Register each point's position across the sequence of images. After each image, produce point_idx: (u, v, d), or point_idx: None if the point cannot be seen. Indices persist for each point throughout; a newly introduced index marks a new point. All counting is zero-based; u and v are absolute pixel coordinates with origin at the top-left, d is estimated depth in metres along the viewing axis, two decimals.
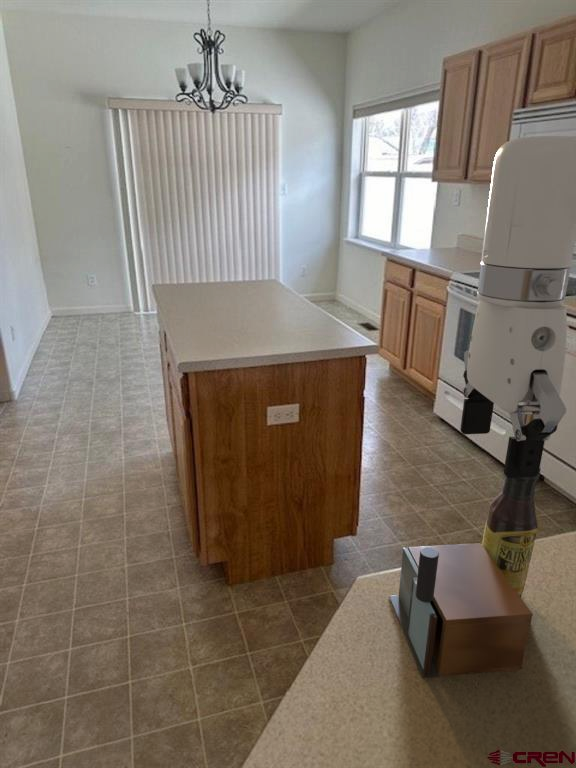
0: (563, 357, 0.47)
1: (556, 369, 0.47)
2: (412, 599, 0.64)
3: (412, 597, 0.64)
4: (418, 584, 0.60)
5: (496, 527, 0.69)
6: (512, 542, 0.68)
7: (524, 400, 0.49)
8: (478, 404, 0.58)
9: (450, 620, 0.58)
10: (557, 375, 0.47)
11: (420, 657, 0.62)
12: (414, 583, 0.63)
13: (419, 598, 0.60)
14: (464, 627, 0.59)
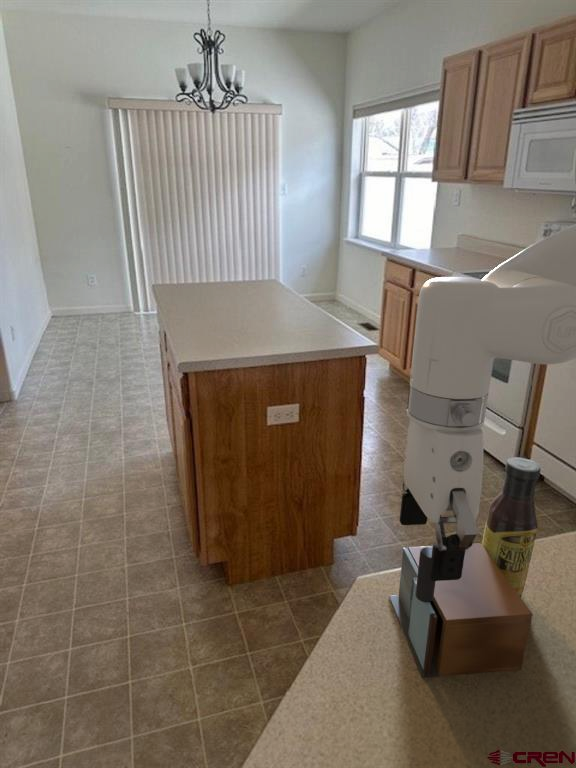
0: (480, 476, 0.51)
1: (474, 487, 0.51)
2: (412, 599, 0.64)
3: (412, 597, 0.64)
4: (418, 584, 0.60)
5: (496, 527, 0.69)
6: (512, 542, 0.68)
7: (448, 509, 0.54)
8: (415, 499, 0.62)
9: (450, 620, 0.58)
10: (475, 492, 0.51)
11: (420, 657, 0.62)
12: (414, 583, 0.63)
13: (419, 598, 0.60)
14: (464, 627, 0.59)
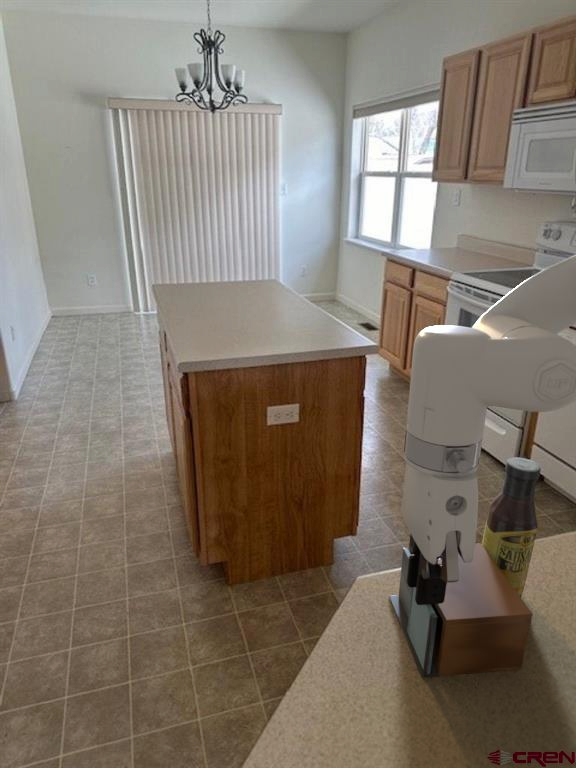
0: (475, 519, 0.52)
1: (469, 530, 0.52)
2: (412, 599, 0.64)
3: (412, 597, 0.64)
4: None
5: (496, 527, 0.69)
6: (512, 542, 0.68)
7: None
8: None
9: (450, 620, 0.58)
10: (470, 534, 0.53)
11: (420, 657, 0.62)
12: None
13: None
14: (464, 627, 0.59)
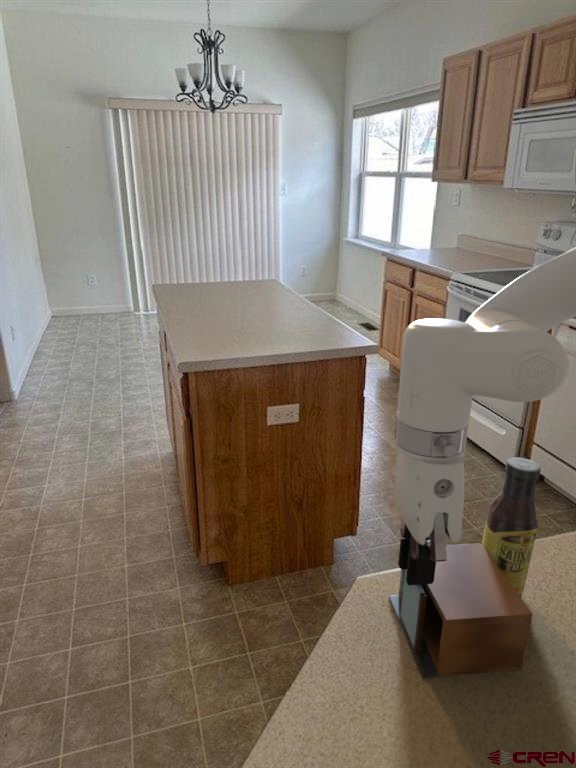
0: (462, 502, 0.55)
1: (456, 512, 0.55)
2: (404, 581, 0.67)
3: (403, 579, 0.67)
4: None
5: (496, 527, 0.69)
6: (512, 542, 0.68)
7: None
8: None
9: (450, 620, 0.58)
10: (457, 516, 0.56)
11: (411, 636, 0.65)
12: None
13: None
14: (464, 627, 0.59)
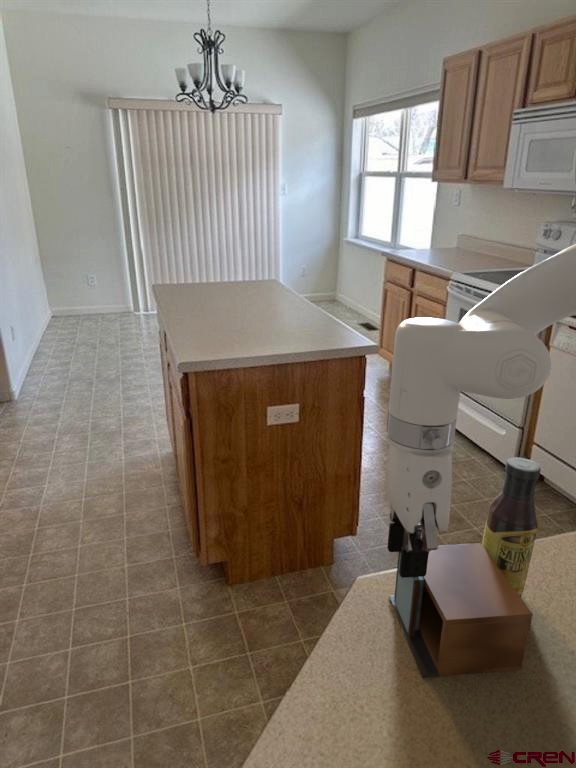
0: (449, 492, 0.58)
1: (444, 501, 0.58)
2: (398, 570, 0.69)
3: (398, 567, 0.69)
4: None
5: (496, 527, 0.69)
6: (512, 542, 0.68)
7: None
8: (401, 528, 0.67)
9: (450, 620, 0.58)
10: (445, 506, 0.58)
11: (405, 623, 0.67)
12: (400, 554, 0.68)
13: None
14: (464, 627, 0.59)
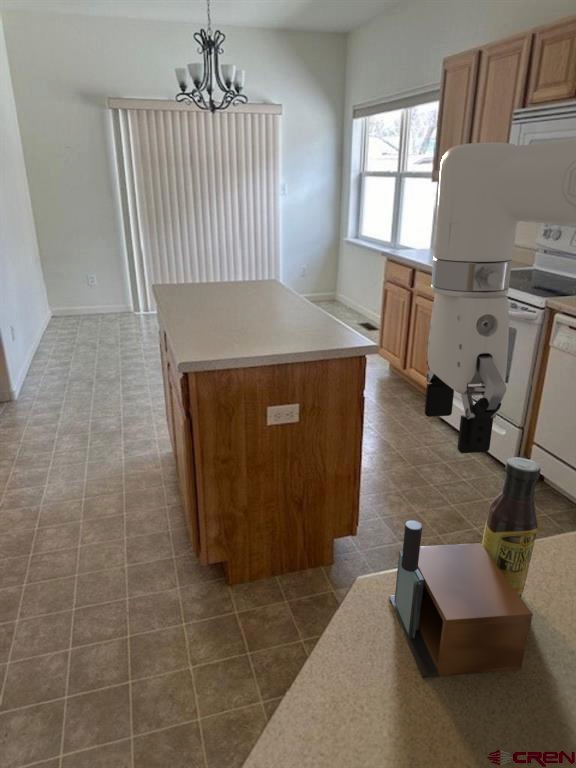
0: (506, 342, 0.51)
1: (500, 353, 0.51)
2: (399, 570, 0.69)
3: (398, 568, 0.69)
4: (403, 555, 0.65)
5: (496, 527, 0.69)
6: (512, 542, 0.68)
7: (475, 382, 0.54)
8: (439, 388, 0.62)
9: (450, 620, 0.58)
10: (501, 358, 0.52)
11: (405, 623, 0.67)
12: (400, 555, 0.68)
13: (404, 567, 0.65)
14: (464, 627, 0.59)
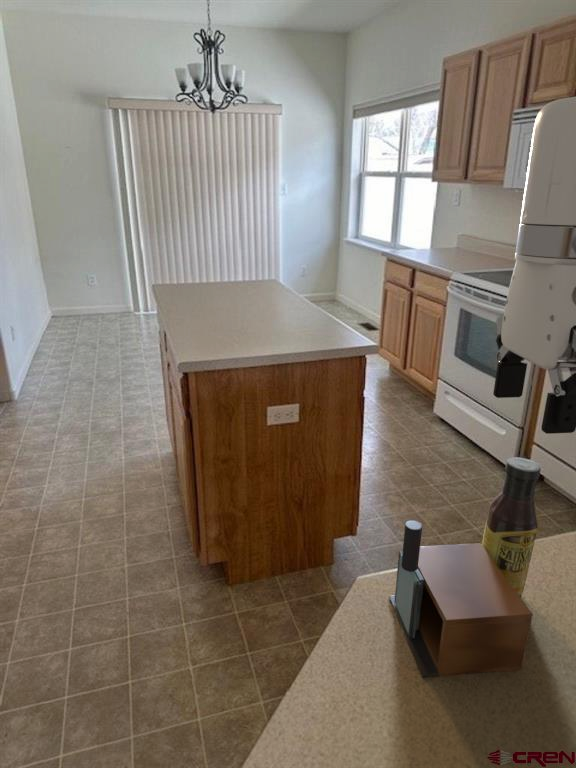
0: None
1: None
2: (399, 570, 0.69)
3: (398, 568, 0.69)
4: (403, 555, 0.65)
5: (496, 527, 0.69)
6: (512, 542, 0.68)
7: (562, 358, 0.51)
8: (511, 367, 0.59)
9: (450, 620, 0.58)
10: None
11: (405, 623, 0.67)
12: (400, 555, 0.68)
13: (404, 567, 0.65)
14: (464, 627, 0.59)
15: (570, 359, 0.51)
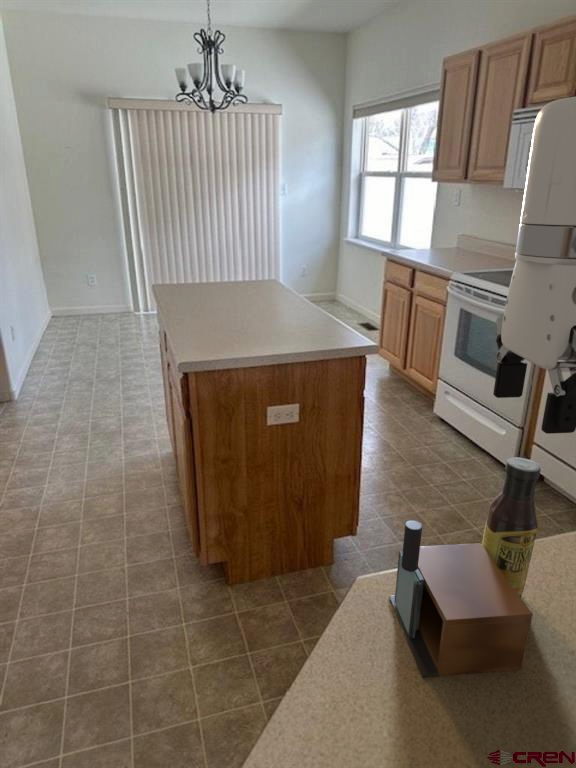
0: None
1: None
2: (399, 570, 0.69)
3: (398, 568, 0.69)
4: (403, 555, 0.65)
5: (496, 527, 0.69)
6: (512, 542, 0.68)
7: (562, 358, 0.51)
8: (511, 367, 0.59)
9: (450, 620, 0.58)
10: None
11: (405, 623, 0.67)
12: (400, 555, 0.68)
13: (404, 567, 0.65)
14: (464, 627, 0.59)
15: (570, 359, 0.51)
